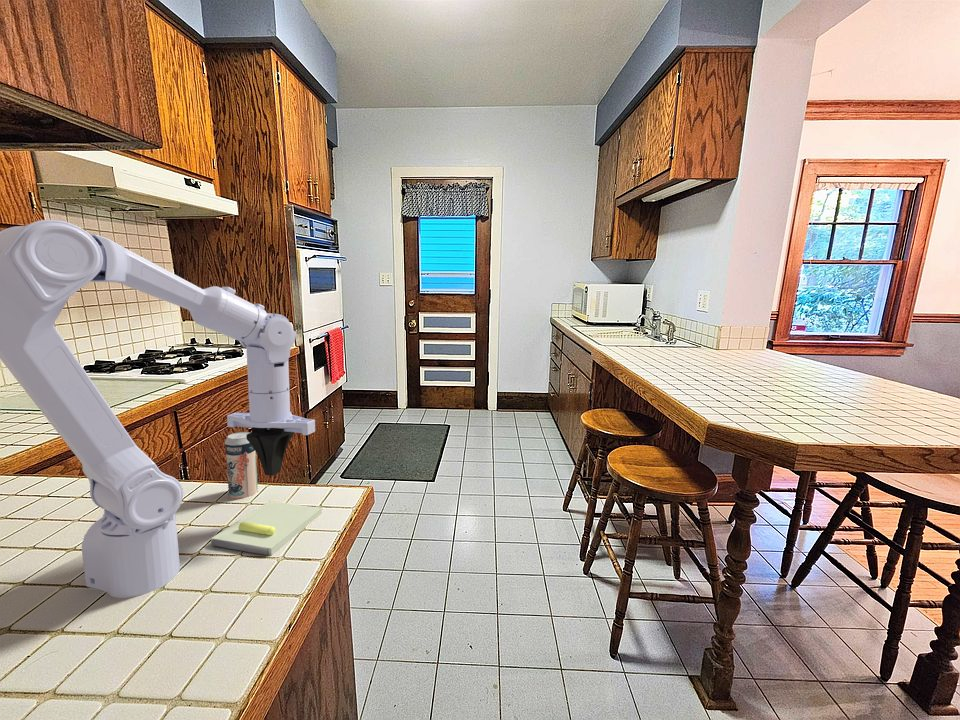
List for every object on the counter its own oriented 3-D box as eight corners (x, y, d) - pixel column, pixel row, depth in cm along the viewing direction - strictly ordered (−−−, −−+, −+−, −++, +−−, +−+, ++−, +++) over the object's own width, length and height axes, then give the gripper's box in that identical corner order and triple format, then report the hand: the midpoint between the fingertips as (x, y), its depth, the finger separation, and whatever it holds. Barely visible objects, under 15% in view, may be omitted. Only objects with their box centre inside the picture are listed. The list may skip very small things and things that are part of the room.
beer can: (222, 501, 75) (217, 437, 74) (245, 490, 80) (242, 429, 78) (241, 506, 74) (237, 441, 72) (264, 495, 78) (261, 433, 76)
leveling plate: (208, 546, 60) (207, 532, 60) (269, 506, 72) (269, 494, 72) (269, 557, 58) (268, 542, 58) (321, 513, 70) (321, 501, 70)
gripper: (325, 388, 68) (327, 468, 69) (249, 382, 71) (252, 459, 73) (297, 397, 61) (300, 486, 63) (214, 390, 64) (219, 475, 66)
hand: (272, 473), depth 67 cm, fingers closed
